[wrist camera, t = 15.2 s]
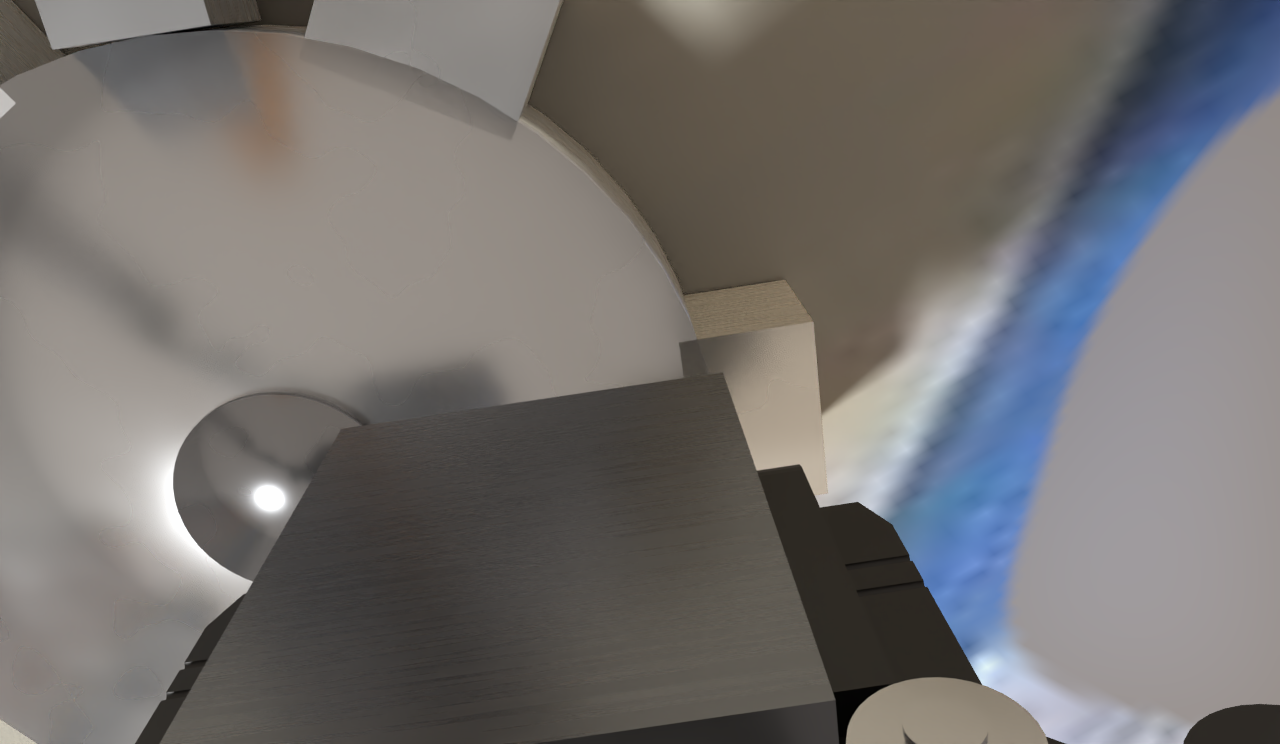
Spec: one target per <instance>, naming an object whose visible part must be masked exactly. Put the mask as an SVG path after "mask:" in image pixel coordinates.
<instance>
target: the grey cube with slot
mask: <svg viewBox="0 0 1280 744" xmlns="http://www.w3.org/2000/svg"><path fill="white" fill-rule="evenodd" d="M159 744H839V736H838V724H837V712H836V700H835V697H834V694H833V691H832V688H831V685H830V683H829V680H828V677H827V674H826V671H825V668H824V665H823V662H822V659H821V656H820V653H819V651H818V648H817V645H816V642H815V639H814V636H813V633H812V630H811V627H810V624H809V621H808V619H807V616H806V613H805V610H804V607H803V604H802V601H801V598H800V595H799V592H798V589H797V587H796V584H795V581H794V578H793V575H792V572H791V569H790V566H789V563H788V560H787V557H786V555H785V552H784V549H783V546H782V543H781V540H780V537H779V534H778V531H777V528H776V525H775V523H774V520H773V517H772V514H771V511H770V508H769V505H768V502H767V499H766V496H765V493H764V491H763V488H762V485H761V482H760V479H759V476H758V473H757V470H756V467H755V464H754V461H753V459H752V456H751V453H750V450H749V447H748V444H747V441H746V438H745V435H744V432H743V429H742V427H741V424H740V421H739V418H738V415H737V412H736V409H735V406H734V403H733V400H732V397H731V395H730V392H729V389H728V386H727V383H726V380H725V377H724V374H723V372H720V373H714V374H707V375H700V376H693V377H687V378H680V379H673V380H666V381H660V382H653V383H646V384H639V385H633V386H626V387H619V388H612V389H606V390H599V391H592V392H585V393H579V394H572V395H565V396H559V397H552V398H545V399H538V400H532V401H525V402H518V403H511V404H505V405H498V406H491V407H484V408H478V409H471V410H464V411H457V412H451V413H444V414H437V415H430V416H424V417H417V418H410V419H403V420H397V421H390V422H383V423H376V424H370V425H363V426H356V427H349V428H343V429H341V430H340V432H339V434H338V435H337V437H336V439H335V441H334V442H333V444H332V446H331V448H330V449H329V451H328V453H327V454H326V456H325V458H324V460H323V461H322V463H321V465H320V467H319V468H318V470H317V472H316V473H315V475H314V477H313V479H312V480H311V482H310V484H309V486H308V487H307V489H306V491H305V493H304V494H303V496H302V498H301V499H300V501H299V503H298V505H297V506H296V508H295V510H294V512H293V513H292V515H291V517H290V518H289V520H288V522H287V524H286V525H285V527H284V529H283V531H282V532H281V534H280V536H279V538H278V539H277V541H276V543H275V544H274V546H273V548H272V550H271V551H270V553H269V555H268V557H267V558H266V560H265V562H264V563H263V565H262V567H261V569H260V570H259V572H258V574H257V576H256V577H255V579H254V581H253V583H252V584H251V586H250V588H249V589H248V591H247V593H246V595H245V596H244V598H243V600H242V602H241V603H240V605H239V607H238V608H237V610H236V612H235V614H234V615H233V617H232V619H231V621H230V622H229V624H228V626H227V627H226V629H225V631H224V633H223V634H222V636H221V638H220V640H219V641H218V643H217V645H216V647H215V648H214V650H213V652H212V653H211V655H210V657H209V659H208V660H207V662H206V664H205V666H204V667H203V669H202V671H201V672H200V674H199V676H198V678H197V679H196V681H195V683H194V685H193V686H192V688H191V690H190V692H189V693H188V695H187V697H186V698H185V700H184V702H183V704H182V705H181V707H180V709H179V711H178V712H177V714H176V716H175V717H174V719H173V721H172V723H171V724H170V726H169V728H168V730H167V731H166V733H165V735H164V737H163V738H162V740H161V742H160V743H159Z"/></svg>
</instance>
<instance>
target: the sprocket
mask: <svg viewBox="0 0 1280 744" xmlns="http://www.w3.org/2000/svg"><path fill="white" fill-rule="evenodd" d="M562 3H563V0H314V3H313V6H312V10H311V14H310V18H309V22H308V26H307V27H304V26H285V25H254V26H242V27H231V28H219V29H207V30H198V31H188V32H178V33H169V34H159V35H149V36H141V37H137V38H133V39H129V40H124V41H120V42H116V43H111V44H107V45H103V46H98V47H94V48H90V49H85V50H81V51H77V52H75V53H72V54H70V55H67V56H66V55H65V54H64V53H63V52H62V51H61V50H60V49H55V50H52V47H51V45H50V42H49V39H48V37H47V36H46V35H45V34H44V33H43V32H42V31H41V30H40V29H39V28H38V27H37V26H36V25H35V24H34V23H33V22H32V21H31V20H30V19H29V18H28V16H27V15H26V14H25V13H24V12H23V11H22V10H21V9H20V8H19V7H18V6H17V5H16V4H15V3H14V2H13V1H12V0H0V719H1V720H2V721H4V722H5V723H7V724H8V725H10V726H11V727H13V728H14V729H16V730H18V731H19V732H21V733H22V734H24V735H25V736H27V737H28V738H30V739H31V740H33V741H34V742H36V743H37V744H135V743H136V741H137V739H138V738H139V736H140V734H141V733H142V731H143V730H144V728H145V726H146V725H147V723H148V721H149V720H150V718H151V716H152V715H153V713H154V711H155V710H156V708H157V707H158V705H159V703H160V702H161V701H162V700H166V697H167V696H166V692H167V690H168V688H169V687H170V685H171V684H172V682H173V680H174V679H175V677H176V675H177V674H178V672H179V670H182V669H185V664H184V662H185V660H186V659H187V657H188V656H189V654H190V652H191V651H192V649H193V647H194V646H195V644H196V642H197V641H198V639H199V637H200V636H201V634H202V633H203V631H204V629H205V628H206V626H208V625H209V624H210V623H211V622H212V621H213V620H214V619H216V618H217V617H218V616H219V615H220V614H221V613H222V612H224V611H225V610H226V609H227V608H228V607H229V606H230V605H232V604H233V603H234V602H235V601H236V600H237V599H238V598H240V597H241V596H242V595H243V594H246V593H247V591H248V589H249V588H250V586H251V584H252V583H253V581H254V579H255V577H256V576H257V574H258V572H259V570H260V569H261V567H262V565H263V563H264V562H265V560H266V558H267V557H268V555H269V553H270V551H271V550H272V548H273V546H274V544H275V543H276V541H277V539H278V538H279V536H280V534H281V532H282V531H283V529H284V527H285V525H286V524H287V522H288V520H289V518H290V517H291V515H292V513H293V512H294V510H295V508H296V506H297V505H298V503H299V501H300V499H301V498H302V496H303V494H304V493H305V491H306V489H307V487H308V486H309V484H310V482H311V480H312V479H313V477H314V475H315V473H316V472H317V470H318V468H319V467H320V465H321V463H322V461H323V460H324V458H325V456H326V454H327V453H328V451H329V449H330V448H331V446H332V444H333V442H334V441H335V439H336V437H337V435H338V434H339V432H340V430H341V429H343V428H349V427H356V426H363V425H370V424H376V423H383V422H390V421H397V420H403V419H410V418H417V417H424V416H430V415H437V414H444V413H451V412H457V411H464V410H471V409H478V408H484V407H491V406H498V405H505V404H511V403H518V402H525V401H532V400H538V399H545V398H552V397H559V396H565V395H572V394H579V393H585V392H592V391H599V390H606V389H612V388H619V387H626V386H633V385H639V384H646V383H653V382H660V381H666V380H673V379H680V378H687V377H693V376H700V375H707V374H714V373H720V372H723V374H724V377H725V380H726V383H727V386H728V389H729V392H730V395H731V397H732V400H733V403H734V406H735V409H736V412H737V415H738V418H739V421H740V424H741V427H742V429H743V432H744V435H745V438H746V441H747V444H748V447H749V450H750V453H751V456H752V459H753V461H754V464H755V467H756V470H764V469H771V468H777V467H784V466H790V465H797V464H800V465H801V466H802V468H803V471H804V473H805V475H806V477H807V480H808V482H809V484H810V486H811V489H812V491H813V493H814V495H820V494H827V493H828V488H827V476H826V464H825V452H824V440H823V428H822V416H821V404H820V392H819V380H818V368H817V356H816V344H815V332H814V322H813V320H812V319H811V317H810V316H809V314H808V313H807V311H806V310H805V308H804V307H803V305H802V304H801V302H800V301H799V299H798V298H797V296H796V295H795V294H794V292H793V291H792V289H791V288H790V286H789V285H788V283H787V282H786V280H779V281H773V282H766V283H760V284H753V285H747V286H741V287H734V288H728V289H721V290H715V291H708V292H702V293H695V294H689V295H683V293H682V290H681V287H680V284H679V281H678V279H677V277H676V275H675V273H674V271H673V269H672V267H671V265H670V263H669V262H668V260H667V258H666V256H665V254H664V252H663V250H662V248H661V246H660V244H659V242H658V240H657V238H656V236H655V234H654V233H653V232H652V230H651V229H650V227H649V226H648V224H647V223H646V222H645V220H644V219H643V217H642V216H641V214H640V213H639V212H638V210H637V209H636V207H635V206H634V204H633V203H632V202H631V200H630V199H629V197H628V196H627V194H626V193H625V192H624V190H623V189H622V188H621V187H620V186H619V185H618V184H617V183H616V182H615V181H614V179H613V178H612V177H611V176H610V175H609V174H608V173H607V172H606V171H605V170H604V169H603V167H602V166H601V165H600V164H599V163H598V162H597V161H596V160H595V159H594V158H593V157H592V155H591V154H590V153H589V152H588V151H587V150H586V149H585V148H583V147H582V146H581V145H580V144H579V143H577V142H576V141H575V140H574V139H573V138H571V137H570V136H569V135H568V134H567V133H566V132H564V131H563V130H562V129H561V128H560V127H558V126H557V125H556V124H555V123H554V122H552V121H551V120H550V119H549V118H548V117H547V116H545V115H544V114H543V113H541V112H540V111H538V110H537V109H535V108H533V107H532V106H530V105H529V104H528V101H529V98H530V96H531V93H532V90H533V87H534V84H535V81H536V78H537V75H538V72H539V70H540V67H541V64H542V61H543V58H544V55H545V52H546V49H547V46H548V43H549V41H550V38H551V35H552V32H553V29H554V26H555V23H556V20H557V17H558V14H559V12H560V9H561V6H562Z"/></svg>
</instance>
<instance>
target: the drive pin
mask: <svg viewBox="0 0 1280 744" xmlns="http://www.w3.org/2000/svg"><path fill="white" fill-rule="evenodd" d="M35 2H36V5H37V8H38V11H39V14H40V16H41V19H42V22H43V25H44V28H45V31H46V33H47V36H48V39H49V42H50V45H51V47H52V50H55V49H64V48H73V47H82V46H91V45H100V44H109V43H116V42H120V41H124V40H129V39H133V38H137V37H141V36H149V35H159V34H169V33H178V32H188V31H196V30H202V29H209V28H215V27H221V26H228V25H234V24H240V23H247V22H253V21H259V20H261V17H260V13H259V10H258V6H257V2H256V0H35Z"/></svg>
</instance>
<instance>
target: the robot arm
mask: <svg viewBox="0 0 1280 744" xmlns="http://www.w3.org/2000/svg"><path fill="white" fill-rule="evenodd" d="M757 473H758V476H759V479H760V482H761V485H762V488H763V491H764V493H765V496H766V499H767V502H768V505H769V508H770V511H771V514H772V517H773V520H774V523H775V525H776V528H777V531H778V534H779V537H780V540H781V543H782V546H783V549H784V552H785V555H786V557H787V560H788V563H789V566H790V569H791V572H792V575H793V578H794V581H795V584H796V587H797V589H798V592H799V595H800V598H801V601H802V604H803V607H804V610H805V613H806V616H807V619H808V621H809V624H810V627H811V630H812V633H813V636H814V639H815V642H816V645H817V648H818V651H819V653H820V656H821V659H822V662H823V665H824V668H825V671H826V674H827V677H828V680H829V683H830V685H831V688H832V691H833V694H834V697H835V700H836V712H837V724H838V736H839V744H1065V743H1062V742H1059V741H1057V740H1054V739H1051V738H1048V737H1046V736H1045V734H1044V732H1043V730H1042V729H1041V727H1040V725H1039V724H1038V722H1037V721H1036V720H1035V719H1034V718H1033V717H1032V715H1031V714H1030V713H1029V712H1028V711H1027V710H1026V709H1024V708H1023V707H1022V706H1021V705H1019V704H1018V703H1017V702H1016V701H1014V700H1012V699H1011V698H1009V697H1007V696H1006V695H1004V694H1002V693H1000V692H998V691H996V690H994V689H991V688H989V687H987V686H983V685H982V684H981V682H980V680H979V678H978V677H977V675H976V673H975V671H974V670H973V668H972V666H971V664H970V662H969V661H968V659H967V657H966V655H965V654H964V652H963V650H962V648H961V646H960V645H959V643H958V641H957V639H956V638H955V636H954V634H953V632H952V630H951V629H950V627H949V625H948V623H947V621H946V620H945V618H944V616H943V614H942V613H941V611H940V609H939V607H938V605H937V604H936V602H935V600H934V598H933V597H932V595H931V593H930V591H929V589H928V588H927V587H925V586H924V582H923V579H922V577H921V575H920V573H919V572H918V570H917V568H916V566H915V564H914V563H913V561H910V558H909V554H908V552H907V550H906V548H905V547H904V545H903V543H902V541H901V540H900V538H899V536H898V534H897V532H896V531H895V529H894V527H893V525H892V524H890V523H889V522H887V521H886V520H884V519H883V518H881V517H880V516H878V515H877V514H875V513H874V512H872V511H871V510H869V509H868V508H866V507H865V506H863V505H862V504H860V503H859V502H855V503H848V504H842V505H835V506H828V507H822V508H820V507H819V505H818V502H817V500H816V498H815V496H814V493H813V491H812V489H811V486H810V484H809V482H808V480H807V477H806V475H805V473H804V471H803V468H802V466H801V465H800V464H797V465H790V466H784V467H777V468H771V469H764V470H757ZM245 595H246V594H243V595H242V596H241V597H240V598H238V599H237V600H236V601H235V602H234V603H233V604H232V605H230V606H229V607H228V608H227V609H226V610H225V611H224V612H222V613H221V614H220V615H219V616H218V617H217V618H216V619H214V620H213V621H212V622H211V623H210V624H209V625H208V626H206V628H205V629H204V631H203V633H202V634H201V636H200V637H199V639H198V641H197V642H196V644H195V646H194V647H193V649H192V651H191V652H190V654H189V656H188V657H187V659H186V660H185V662H184V664H185V669H182V670H179V672H178V674H177V675H176V677H175V679H174V680H173V682H172V684H171V685H170V687H169V688H168V690H167V692H166V696H167V697H166V700H162V701H161V702H160V703H159V705H158V707H157V708H156V710H155V711H154V713H153V715H152V716H151V718H150V720H149V721H148V723H147V725H146V726H145V728H144V730H143V731H142V733H141V734H140V736H139V738H138V739H137V741H136V743H135V744H159V743H160V742H161V740H162V738H163V737H164V735H165V733H166V731H167V730H168V728H169V726H170V724H171V723H172V721H173V719H174V717H175V716H176V714H177V712H178V711H179V709H180V707H181V705H182V704H183V702H184V700H185V698H186V697H187V695H188V693H189V692H190V690H191V688H192V686H193V685H194V683H195V681H196V679H197V678H198V676H199V674H200V672H201V671H202V669H203V667H204V666H205V664H206V662H207V660H208V659H209V657H210V655H211V653H212V652H213V650H214V648H215V647H216V645H217V643H218V641H219V640H220V638H221V636H222V634H223V633H224V631H225V629H226V627H227V626H228V624H229V622H230V621H231V619H232V617H233V615H234V614H235V612H236V610H237V608H238V607H239V605H240V603H241V602H242V600H243V598H244V596H245ZM1184 744H1280V705H1267V704H1265V705H1264V704H1254V705H1240V706H1235V707H1230V708H1225V709H1223V710H1220V711H1217V712H1214V713H1212V714H1209V715H1208V716H1206V717H1205V718H1203V719H1201V720H1200V721H1198V722H1197V723H1196V724H1195V725H1194V726H1193V727H1192V728H1191V729H1190V731H1189V733H1188V734H1187V736H1186V738H1185V740H1184Z"/></svg>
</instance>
